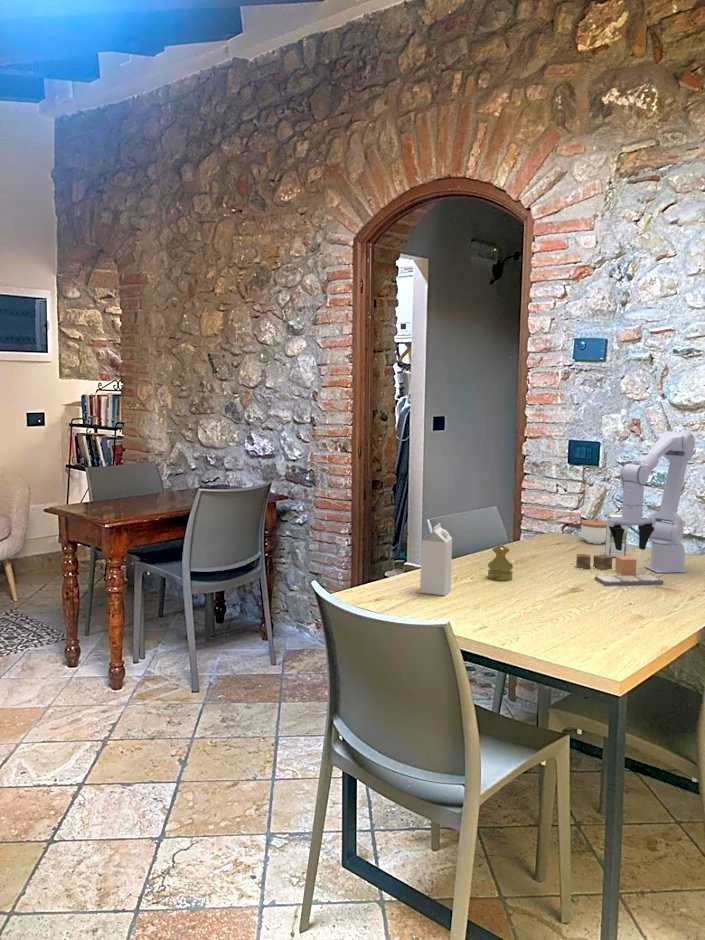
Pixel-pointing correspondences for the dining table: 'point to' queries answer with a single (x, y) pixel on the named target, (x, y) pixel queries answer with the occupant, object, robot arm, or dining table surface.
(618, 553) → the syrup box
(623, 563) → the orange brown block
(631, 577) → the board
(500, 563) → the olive green tiered piece
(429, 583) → the milk carton
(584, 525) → the lidded jar
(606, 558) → the walnut block
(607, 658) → the dining table surface
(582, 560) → the walnut block
